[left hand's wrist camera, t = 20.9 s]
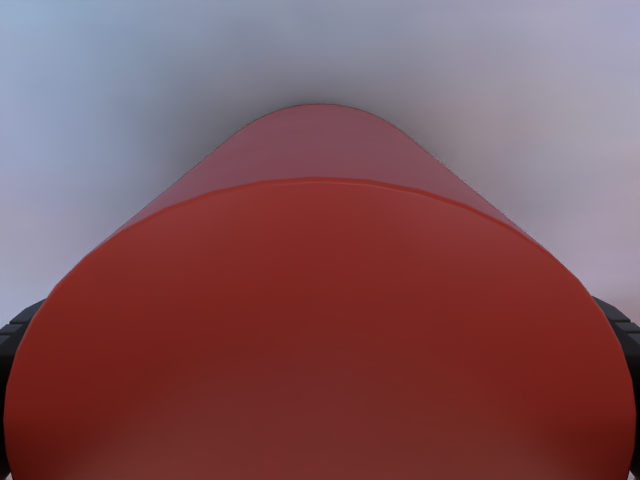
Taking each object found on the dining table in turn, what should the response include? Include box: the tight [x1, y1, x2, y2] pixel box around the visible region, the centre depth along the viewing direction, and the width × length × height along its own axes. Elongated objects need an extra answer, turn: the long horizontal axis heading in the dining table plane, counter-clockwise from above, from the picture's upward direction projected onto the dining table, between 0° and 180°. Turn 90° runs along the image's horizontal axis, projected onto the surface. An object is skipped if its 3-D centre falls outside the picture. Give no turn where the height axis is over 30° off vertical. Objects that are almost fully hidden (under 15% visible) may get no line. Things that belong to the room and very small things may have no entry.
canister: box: [3, 104, 636, 480], centre depth 11 cm, size 9×9×10 cm
